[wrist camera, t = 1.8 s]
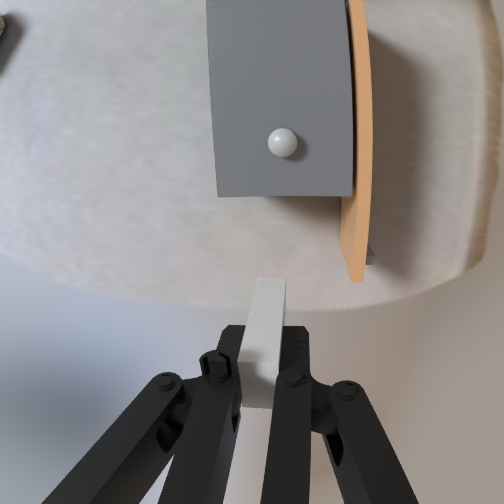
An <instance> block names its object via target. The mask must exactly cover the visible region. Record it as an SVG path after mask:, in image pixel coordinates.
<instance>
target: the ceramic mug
mask: <svg viewBox="0 0 504 504" xmlns="http://www.w3.org/2000/svg"><path fill="white" fill-rule="evenodd" d="M4 28H5V22H4V19H3V18H2V17H1V16H0V36H1V34H2V32H3V30H4Z"/></svg>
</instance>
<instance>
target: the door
mask: <svg viewBox="0 0 504 504" xmlns="http://www.w3.org/2000/svg"><path fill="white" fill-rule="evenodd" d="M344 3H345V12H346V21H347V31H348V41H349V54H350V68H351V87H352V115H353V175H352V197H347V196H342V201H341V226H340V247H341V250H342V254H343V257H344V260H345V263H346V266H347V269H348V273H349V276H350V279H351V282H363V279H364V271H365V265H374V258H375V255H374V253H373V252H372V250H371V248H370V246H369V244H368V231H369V218H370V203H371V184H372V147H373V123H372V87H371V69H370V55H369V43H368V33H367V23H366V15H365V7H364V0H344Z"/></svg>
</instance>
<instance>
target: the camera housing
mask: <svg viewBox="0 0 504 504" xmlns="http://www.w3.org/2000/svg"><path fill="white" fill-rule="evenodd" d="M206 11H207V37H208V58H209V77H210V95H211V111H212V126H213V141H214V155H215V168H216V181H217V193H218V197H249V196H347V197H352V175H353V115H352V87H351V68H350V54H349V41H348V31H347V21H346V12H345V3H344V0H206Z"/></svg>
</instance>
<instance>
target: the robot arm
mask: <svg viewBox="0 0 504 504" xmlns="http://www.w3.org/2000/svg"><path fill="white" fill-rule="evenodd" d="M285 308H286V278H257V282H256V286H255V291H254V295H253V299H252V303H251V307H250V311H249V316H248V320H247V324H246V326H244V325H228V326H227V327H226V328H225V329H224V330H223V331H222V334H221V337H220V340H219V343H218V346H217V349H216V350H212V351H209V352H207V353H205V354H203V355H202V356H201V358H200V359H199V361H200V366H201V370H202V376H199V377H197V378H192V379H185V380H182V379H181V378H180V376H179V375H177V374H175V373H171V372H165V373H161V374H158V375H156V376H155V377H154V378H152V380H151V381H150V382H149V383H148V384H147V385H146V386H145V388H144V389H143V390H142V391H141V392H140V393H139V394H138V396H137V397H136V398H135V399H134V400H133V401H132V402H131V404H130V405H129V406H128V407H127V408H126V409H125V411H123V413H122V414H121V415H120V416H119V417H118V418H117V420H116V421H115V422H114V423H113V424H112V425H111V426H110V427H109V429H108V430H107V431H106V432H105V433H104V434H103V435H102V436H101V437H100V439H99V440H98V441H97V442H96V443H95V444H94V445H93V447H92V448H91V449H90V450H89V451H88V452H87V453H86V455H85V456H84V457H83V458H82V459H81V460H80V461H79V462H78V463H77V464H76V466H75V467H74V468H73V469H72V470H71V471H70V472H69V474H68V475H67V476H66V477H65V478H64V479H63V480H62V481H61V483H59V485H58V486H57V487H56V488H55V489H54V490H53V491H52V492H51V494H50V495H49V496H48V497H47V498H46V499H45V500H44V501H43V502H42V504H139V503H140V501H141V500H142V499H143V497H144V496H145V494H146V493H147V492H148V490H149V489H150V488H151V486H152V485H153V484H154V482H155V481H156V479H157V478H158V476H159V475H160V474H161V472H162V471H163V469H164V468H165V466H166V465H167V464H168V462H169V461H170V459H171V458H172V456H173V455H174V457H173V460H172V463H171V466H170V469H169V472H168V475H167V477H166V480H165V483H164V486H163V489H162V492H161V495H160V498H159V501H158V504H223V500H224V495H225V490H226V485H227V481H228V477H229V472H230V467H231V462H232V458H233V453H234V448H235V443H236V438H237V433H238V428H239V423H240V418H241V415H240V406H241V402H242V406H243V407H251V408H268V409H273V411H272V420H271V428H270V436H269V444H268V452H267V460H266V467H265V474H264V482H263V488H262V496H261V502H260V504H309V490H310V489H309V487H310V461H311V431H313V432H317V433H320V434H322V436H323V439H324V442H325V445H326V448H327V452H328V455H329V458H330V461H331V464H332V467H333V470H334V473H335V476H336V479H337V482H338V485H339V488H340V491H341V494H342V497H343V500H344V504H419V503H418V501H417V499H416V496H415V494H414V492H413V490H412V488H411V485H410V483H409V481H408V479H407V477H406V475H405V473H404V471H403V468H402V467H401V464H400V462H399V460H398V458H397V456H396V454H395V452H394V450H393V447H392V445H391V443H390V441H389V439H388V437H387V435H386V433H385V431H384V429H383V427H382V425H381V423H380V421H379V419H378V417H377V415H376V413H375V411H374V409H373V407H372V405H371V403H370V401H369V399H368V397H367V395H366V393H365V391H364V389H363V388H362V387H361V385H359V384H358V383H356V382H353V381H348V380H347V381H340V382H337V383H335V384H334V385H333V386H329V385H324V384H322V383H319V382H317V381H316V380H315V379H314V378H313V377H312V376H311V374H310V355H309V332H308V331H307V330H306V328H305V327H304V326H285Z"/></svg>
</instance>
